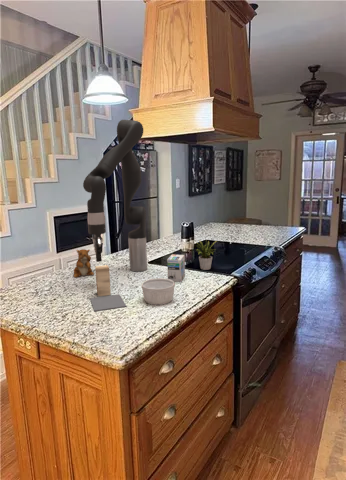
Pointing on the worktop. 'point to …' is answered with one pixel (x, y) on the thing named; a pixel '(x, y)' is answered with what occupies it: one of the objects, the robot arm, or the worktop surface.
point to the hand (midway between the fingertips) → (98, 261)
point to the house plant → (205, 255)
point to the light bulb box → (176, 267)
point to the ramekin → (158, 290)
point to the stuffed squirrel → (83, 264)
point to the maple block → (103, 280)
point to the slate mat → (107, 302)
